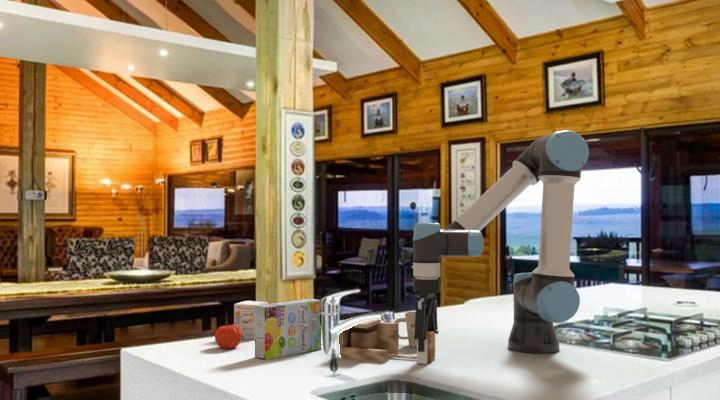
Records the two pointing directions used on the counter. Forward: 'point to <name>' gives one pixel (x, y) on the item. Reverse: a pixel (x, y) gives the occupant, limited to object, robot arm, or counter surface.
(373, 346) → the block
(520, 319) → the robot arm
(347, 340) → the cubby
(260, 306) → the snack box
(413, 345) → the mug
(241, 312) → the ink box
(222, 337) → the apple
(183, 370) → the counter surface
